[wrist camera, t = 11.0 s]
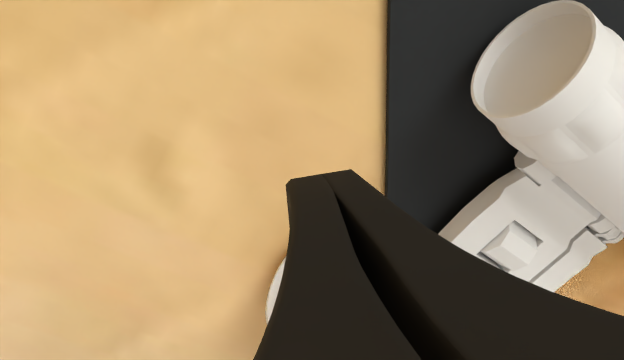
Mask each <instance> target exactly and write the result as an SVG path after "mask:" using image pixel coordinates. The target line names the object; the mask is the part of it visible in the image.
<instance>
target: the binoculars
mask: <svg viewBox="0 0 624 360" xmlns="http://www.w3.org/2000/svg"><path fill="white" fill-rule="evenodd" d="M471 97H472V100H473V103H474V105H475V106H476V108H477V109H478V110H479V111H480V112H481V113H482V114H484V115H485V116H486V117H487V118H488V119H489V120H491V121H492V122H493V123H494V124H495V125H496V127H497V129H498V131H499V132H500V134H501V135H502V137H503V138H504V139H505V140H506V141H507V142H508V143H509V144H511V145H512V146H513V147H515V148H516V149H517V150H519V151H518V153H517V154H516V156H515V157H514V161H515V167H517V168H516V169H514V170H513V171H511V172H509V173H508V174H506V175H504V176H502V177H501V178H499V179H497V180H496V181H495V182H493V183H492V184H490V185H489V186H488V187H487V188H486V189H485V190H483V191H482V192H481V193H480V194H479V195H478V196H477V197H475V198H474V199H473V200H472V201H471V202H470V203H468V204H467V205H466V206H465V207H464V208H463V209H462V210H461V211H460V212H459V213H458V214H457V215H456V216H455V217H454V218H453V219H452V220H451V221H450V222H449V223H448V224H447V225H446V226H445V227H444V228H443V229H442V230H441V231H440V232H439V234H438V235H440V236H442V237H443V238H445V239H446V240H448V241H449V242H451V243H453V244H454V245H456V246H458V247H459V248H461V249H463V250H465V251H466V252H468V253H470V254H472V255H474V256H476V257H478V258H480V259H481V260H483V261H485V262H487V263H489V264H491V265H493V266H495V267H497V268H499V269H501V270H503V271H505V272H507V273H509V274H512V275H514V276H516V277H518V278H521V279H523V280H525V281H528V282H530V283H532V284H535V285H537V286H539V287H542V288H544V289H547V290H549V291H551V292H555V291H556V290H557V289H559V288H560V287H561V286H562V285H563V284H565V283H566V282H567V281H568V280H570V279H571V278H572V277H573V276H575V275H576V274H577V273H579V272H580V271H581V270H583V269H584V268H585V267H587V266H588V265H589V263H590V261H591V259H592V257H593V256H595V255H597V254H598V253H600V252H602V251H603V250H605V249H606V248H607V246H606V245H605V244H606V243H618V242H619V241H620V240H621V239H623V238H624V41H623V40H622V38H621V37H620V36H619V35H617V34H616V33H615V32H614V31H613V30H611V29H610V28H608V27H606V26H604V25H603V24H602V23H601V22H600V21H599V19H598V18H597V17H596V16H595V15H594V14H593V12H592V11H591V10H590V9H589V8H588V7H586V6H585V5H584V4H582V3H579V2H576V1H572V0H559V1H552V2H549V3H546V4H542V5H540V6H537V7H535V8H533V9H531V10H529V11H527V12H526V13H524V14H522V15H521V16H519V17H517V18H516V19H515V20H514V21H512V22H511V23H510V24H508V25H507V26H506V27H505V28H504V29H503V30H502V31H501V32H500V33H499V34H498V35H497V36H496V37H495V38H494V39H493V40H492V41H491V43H490V44H489V45H488V47H487V48H486V49H485V51H484V52H483V54H482V55H481V57H480V59H479V61H478V63H477V65H476V67H475V70H474V73H473V76H472V81H471ZM514 220H515V221H517V222H518V223H519V224H518V223H517V222H515V221H514ZM520 224H521V225H522V226H523V227H522V226H521V225H520ZM586 226H588V227H590V228H589V229H588V228H587V227H586ZM524 227H525V228H526V229H527V230H526V229H525V228H524ZM528 230H529V231H530V232H529V231H528ZM285 260H286V257H285V258H284V260H283V261H282V263H281V264H280V266H279V268H278V270H277V271H276V273H275V275H274V278H273V280H272V283H271V285H270V289H269V292H268V296H267V301H266V311H265V315H266V323H267V325H268V322H269V319H270V316H271V314H272V311H273V308H274V304H275V301H276V298H277V294H278V291H279V287H280V283H281V279H282V275H283V270H284V265H285Z"/></svg>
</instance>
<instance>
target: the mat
mask: <svg viewBox="0 0 624 360" xmlns="http://www.w3.org/2000/svg"><path fill="white" fill-rule="evenodd" d="M552 1H559V0H388V11H387V94H386V177H385V197H386V198H388V199H389V200H390V201H392V202H393V203H394V204H395V205H397V206H398V207H399V208H401V209H402V210H403V211H405V212H406V213H408V214H409V215H410V216H412V217H413V218H414V219H416V220H417V221H419V222H420V223H422V224H423V225H425V226H426V227H427V228H429V229H430V230H432V231H434V232H435V233H437V234H439V232H440V231H441V230H442V229H443V228H444V227H445V226H446V225H447V224H448V223H449V222H450V221H451V220H452V219H453V218H454V217H455V216H456V215H457V214H458V213H459V212H460V211H461V210H462V209H463V208H464V207H465V206H466V205H467V204H468V203H470V202H471V201H472V200H473V199H474V198H475V197H477V196H478V195H479V194H480V193H481V192H482V191H483V190H485V189H486V188H487V187H488V186H489V185H490V184H492V183H493V182H495V181H496V180H497V179H499V178H501V177H502V176H504V175H506V174H508V173H509V172H511V171H513V170H514V169H516V168H517V167H515V161H514V157H515V156H516V154H517V153H518V151H519V150H517V149H516V148H515V147H513V146H512V145H511V144H509V143H508V142H507V141H506V140H505V139H504V138H503V137H502V135H501V134H500V132H499V131H498V129H497V127H496V125H495V124H494V123H493V122H492V121H491V120H489V119H488V118H487V117H486V116H485V115H484V114H482V113H481V112H480V111H479V110H478V109H477V108H476V106H475V105H474V103H473V100H472V97H471V81H472V76H473V73H474V70H475V67H476V65H477V63H478V61H479V59H480V57H481V55H482V54H483V52H484V51H485V49H486V48H487V47H488V45H489V44H490V43H491V41H492V40H493V39H494V38H495V37H496V36H497V35H498V34H499V33H500V32H501V31H502V30H503V29H504V28H505V27H506V26H507V25H508V24H510V23H511V22H512V21H514V20H515V19H516V18H517V17H519V16H521V15H522V14H524V13H526V12H527V11H529V10H531V9H533V8H535V7H537V6H540V5H542V4H546V3H549V2H552ZM572 1H576V2H579V3H582V4H584V5H585V6H586V7H588V8H589V9H590V10H591V11H592V12H593V14H594V15H595V16H596V17H597V18H598V19H599V21H600V22H601V23H602V24H603V25H604V26H606V27H608V28H610V29H611V30H613V31H614V32H615V33H616V34H617V35H619V36H620V37H621V38H622V40H623V41H624V0H572ZM514 221H515V220H514ZM515 222H517V221H515ZM517 223H518V222H517ZM518 224H519V223H518ZM520 225H521V224H520ZM521 226H522V225H521ZM522 227H523V226H522ZM586 227H587V228H588V229H589V228H590V227H588V226H586ZM524 228H525V227H524ZM525 229H526V228H525ZM526 230H527V229H526ZM528 231H529V230H528ZM529 232H530V231H529Z"/></svg>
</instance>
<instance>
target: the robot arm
mask: <svg viewBox="0 0 624 360" xmlns="http://www.w3.org/2000/svg"><path fill="white" fill-rule="evenodd" d="M286 192H287V203H288V214H289V224H290V233H289V243H288V249H287V255H286V260H285V265H284V270H283V275H282V279H281V283H280V287H279V291H278V294H277V298H276V301H275V304H274V308H273V311H272V314H271V316H270V319H269V322H268V325H267V327H266V330H265V333H264V336H263V338H262V341H261V343H260V346H259V348H258V350H257V353H256V355H255V357H254V359H253V360H624V316H621V315H618V314H615V313H612V312H609V311H606V310H603V309H600V308H596V307H593V306H590V305H587V304H584V303H581V302H578V301H576V300H573V299H570V298H567V297H565V296H562V295H559V294H557V293H554V292H551V291H549V290H547V289H544V288H542V287H539V286H537V285H535V284H532V283H530V282H528V281H525V280H523V279H521V278H518V277H516V276H514V275H512V274H509V273H507V272H505V271H503V270H501V269H499V268H497V267H495V266H493V265H491V264H489V263H487V262H485V261H483V260H481V259H480V258H478V257H476V256H474V255H472V254H470V253H468V252H466V251H465V250H463V249H461V248H459V247H458V246H456V245H454V244H453V243H451V242H449V241H448V240H446V239H445V238H443V237H442V236H440V235H438V234H437V233H435V232H434V231H432V230H430V229H429V228H427V227H426V226H425V225H423V224H422V223H420V222H419V221H417V220H416V219H414V218H413V217H412V216H410V215H409V214H408V213H406V212H405V211H403V210H402V209H401V208H399V207H398V206H397V205H395V204H394V203H393V202H392V201H390V200H389V199H388V198H386V197H385V196H384V195H383V194H381V193H380V192H379V191H378V190H376V189H375V188H374V187H373V186H371V185H370V184H369V183H368V182H366V181H365V180H364V179H363V178H361V177H360V176H359V175H358V174H356V173H355V172H354V171H352V170H351V169H350V170H344V171H338V172H332V173H326V174H319V175H313V176H307V177H301V178H295V179H291V180H290V181H289V182H288V183H287V184H286Z"/></svg>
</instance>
